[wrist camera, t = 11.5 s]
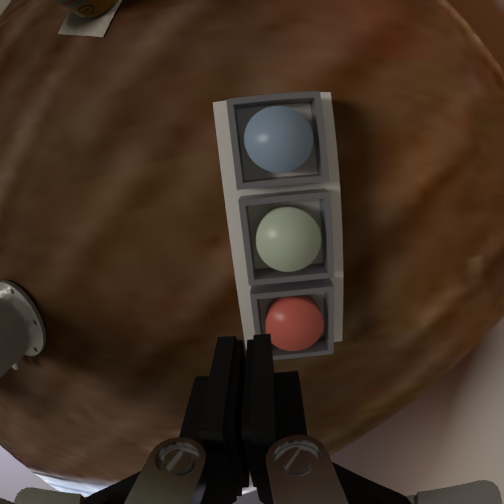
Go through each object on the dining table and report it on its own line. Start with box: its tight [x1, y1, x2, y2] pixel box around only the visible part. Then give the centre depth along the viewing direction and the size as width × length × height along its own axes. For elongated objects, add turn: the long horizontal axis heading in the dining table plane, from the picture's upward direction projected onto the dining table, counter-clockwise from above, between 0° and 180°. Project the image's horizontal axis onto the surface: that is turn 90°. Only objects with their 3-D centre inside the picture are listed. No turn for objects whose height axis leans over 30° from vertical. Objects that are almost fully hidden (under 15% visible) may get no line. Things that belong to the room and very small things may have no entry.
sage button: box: [256, 205, 321, 272], centre depth 25 cm, size 5×5×2 cm
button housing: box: [213, 91, 343, 360], centre depth 27 cm, size 24×10×6 cm, turn 6°
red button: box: [266, 295, 324, 351], centre depth 28 cm, size 5×5×2 cm
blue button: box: [244, 106, 313, 173], centre depth 23 cm, size 5×5×2 cm
